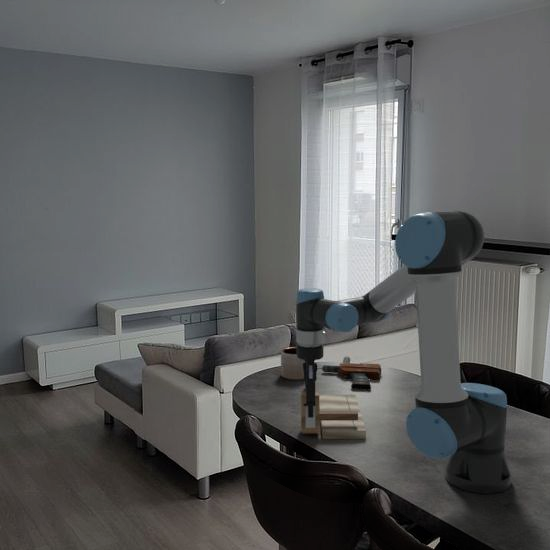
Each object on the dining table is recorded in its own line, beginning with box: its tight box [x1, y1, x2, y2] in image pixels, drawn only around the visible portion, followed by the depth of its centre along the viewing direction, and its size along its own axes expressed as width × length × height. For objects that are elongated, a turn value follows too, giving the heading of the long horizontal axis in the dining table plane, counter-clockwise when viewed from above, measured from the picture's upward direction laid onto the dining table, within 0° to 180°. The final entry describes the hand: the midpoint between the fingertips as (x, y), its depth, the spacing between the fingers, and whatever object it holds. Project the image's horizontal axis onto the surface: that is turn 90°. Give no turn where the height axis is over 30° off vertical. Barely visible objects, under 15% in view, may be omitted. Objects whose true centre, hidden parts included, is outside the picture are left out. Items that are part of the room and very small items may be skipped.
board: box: [319, 394, 367, 440], centre depth 195 cm, size 30×12×2 cm, turn 179°
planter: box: [280, 346, 305, 381], centre depth 237 cm, size 11×11×10 cm
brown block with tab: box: [300, 388, 358, 434], centre depth 183 cm, size 6×16×11 cm, turn 89°
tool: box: [317, 356, 382, 391], centre depth 237 cm, size 4×27×30 cm
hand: (310, 422), depth 184 cm, fingers closed on brown block with tab, 6 cm apart
